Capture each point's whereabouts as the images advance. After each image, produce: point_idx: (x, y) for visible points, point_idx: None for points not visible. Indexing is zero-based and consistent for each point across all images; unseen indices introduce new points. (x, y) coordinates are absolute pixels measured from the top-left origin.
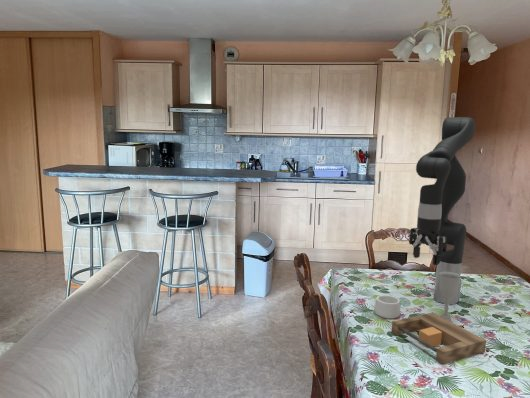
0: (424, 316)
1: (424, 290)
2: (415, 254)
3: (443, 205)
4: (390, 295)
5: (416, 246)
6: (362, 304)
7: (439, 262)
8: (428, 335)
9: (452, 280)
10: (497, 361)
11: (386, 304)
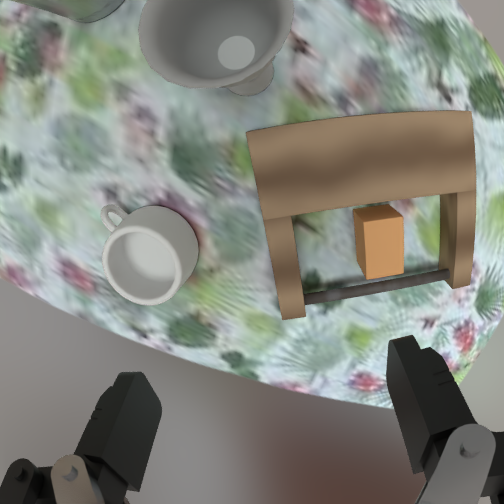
0: (273, 189)
1: (26, 31)
2: (153, 433)
3: None
4: (108, 241)
5: (123, 498)
6: (96, 282)
7: (439, 358)
8: (402, 273)
9: (277, 37)
10: (489, 123)
11: (176, 291)
